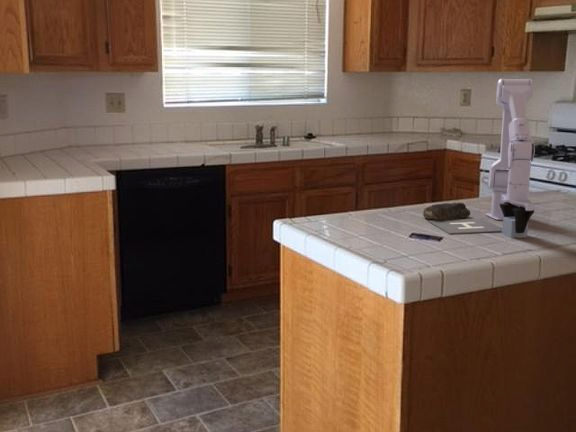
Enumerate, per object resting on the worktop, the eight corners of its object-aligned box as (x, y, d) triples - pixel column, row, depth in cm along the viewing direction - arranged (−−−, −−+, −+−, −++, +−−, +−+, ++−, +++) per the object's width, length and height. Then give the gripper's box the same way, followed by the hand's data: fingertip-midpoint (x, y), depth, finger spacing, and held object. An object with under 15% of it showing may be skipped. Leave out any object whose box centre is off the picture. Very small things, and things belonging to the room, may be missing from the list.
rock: (420, 218, 204) (420, 205, 204) (455, 213, 213) (455, 200, 212) (437, 221, 198) (438, 208, 197) (473, 216, 206) (473, 203, 205)
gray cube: (517, 233, 187) (519, 216, 186) (526, 237, 182) (528, 220, 181) (501, 233, 186) (503, 217, 185) (510, 238, 181) (512, 220, 180)
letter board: (482, 219, 203) (482, 218, 203) (507, 231, 188) (507, 230, 187) (428, 221, 200) (428, 220, 200) (449, 234, 185) (449, 232, 184)
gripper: (492, 179, 187) (489, 225, 190) (518, 188, 173) (514, 237, 176) (515, 179, 188) (511, 224, 191) (542, 187, 174) (538, 236, 177)
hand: (514, 230), depth 183 cm, fingers open, 5 cm apart
